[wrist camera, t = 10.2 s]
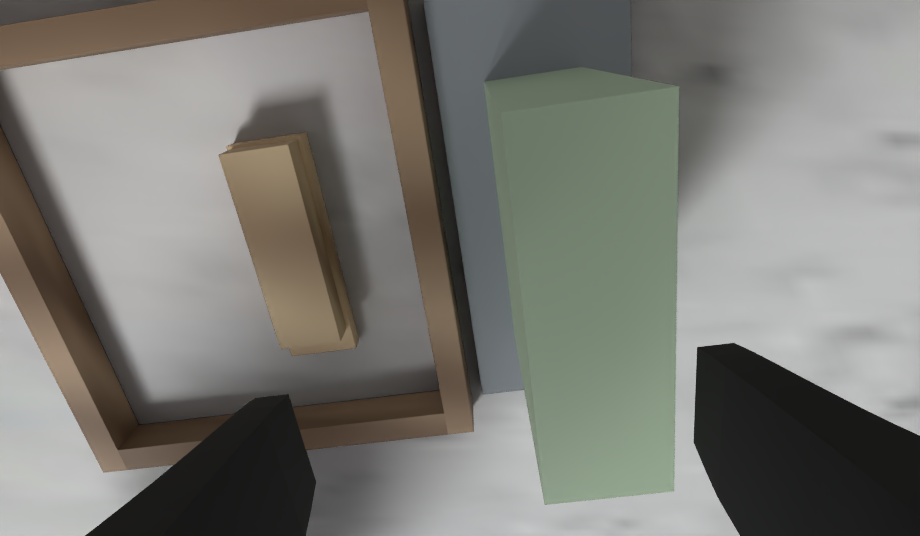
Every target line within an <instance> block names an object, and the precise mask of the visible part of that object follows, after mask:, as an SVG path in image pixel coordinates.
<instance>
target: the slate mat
mask: <svg viewBox="0 0 920 536" xmlns="http://www.w3.org/2000/svg"><path fill="white" fill-rule="evenodd" d="M423 3H424V10H425V16H426V23H427V30H428V36H429V43H430V49H431V56H432V63H433V69H434V76H435V82H436V89H437V96H438V102H439V109H440V116H441V122H442V129H443V135H444V142H445V149H446V155H447V162H448V168H449V175H450V182H451V188H452V195H453V202H454V208H455V215H456V221H457V228H458V235H459V241H460V248H461V254H462V261H463V268H464V274H465V281H466V288H467V294H468V301H469V307H470V314H471V321H472V327H473V334H474V340H475V347H476V354H477V360H478V367H479V374H480V380H481V387H482V393H483V394H492V393H500V392H509V391H518V390H524V385H523V380H522V374H521V368H520V363H519V357H518V351H517V346H516V340H515V334H514V326H513V318H512V310H511V302H510V293H509V285H508V277H507V269H506V260H505V252H504V244H503V236H502V227H501V219H500V211H499V203H498V194H497V186H496V178H495V170H494V161H493V153H492V145H491V137H490V129H489V120H488V112H487V104H486V96H485V87H484V82H486V81H492V80H499V79H505V78H512V77H518V76H525V75H531V74H538V73H545V72H551V71H558V70H564V69H571V68H577V67H585V68H590V69H595V70H600V71H605V72H610V73H615V74H620V75H625V76H630V77H632V53H631V0H427V1H423Z"/></svg>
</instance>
